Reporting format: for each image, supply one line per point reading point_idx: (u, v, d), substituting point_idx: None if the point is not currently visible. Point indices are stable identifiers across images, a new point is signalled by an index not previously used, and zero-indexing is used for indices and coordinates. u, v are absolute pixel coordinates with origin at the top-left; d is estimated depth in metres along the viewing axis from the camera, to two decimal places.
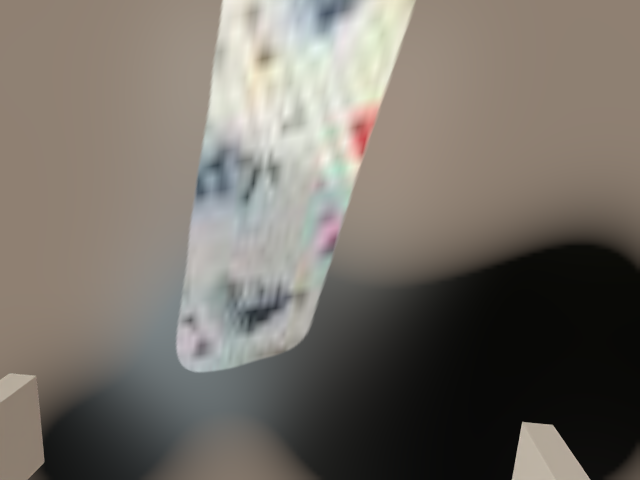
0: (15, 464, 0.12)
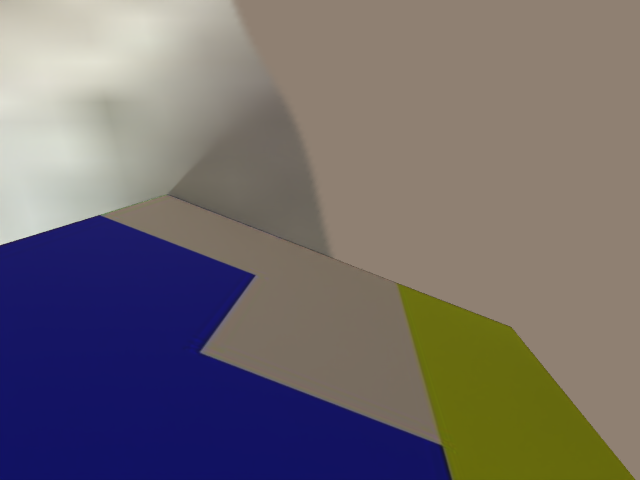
0: None
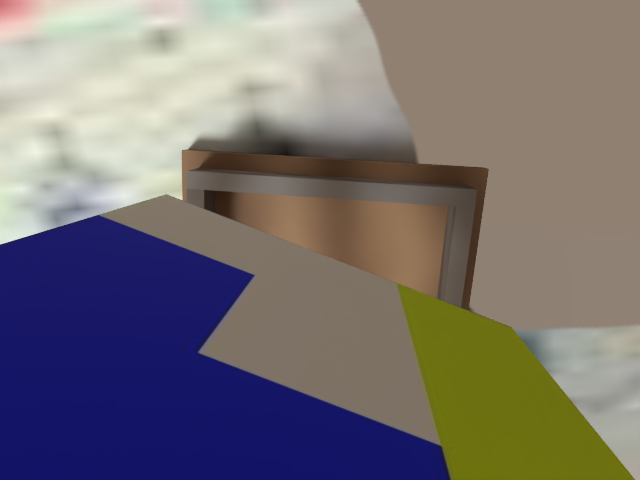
0: None
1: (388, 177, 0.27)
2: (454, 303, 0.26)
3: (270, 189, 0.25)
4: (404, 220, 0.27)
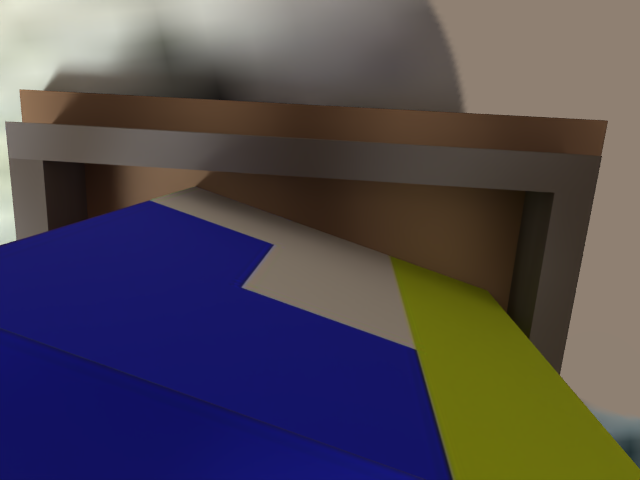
0: None
1: (410, 139, 0.14)
2: None
3: (173, 158, 0.12)
4: (440, 222, 0.14)
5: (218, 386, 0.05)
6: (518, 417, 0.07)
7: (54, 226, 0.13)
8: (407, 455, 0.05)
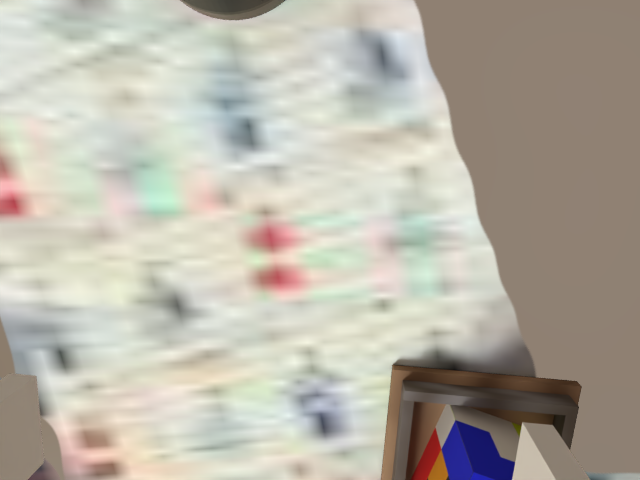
0: (15, 464, 0.12)
1: (520, 389, 0.44)
2: None
3: (454, 402, 0.43)
4: (528, 412, 0.45)
5: None
6: None
7: (411, 417, 0.44)
8: None
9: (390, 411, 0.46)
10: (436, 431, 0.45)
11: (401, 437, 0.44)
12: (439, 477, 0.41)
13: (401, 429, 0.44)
